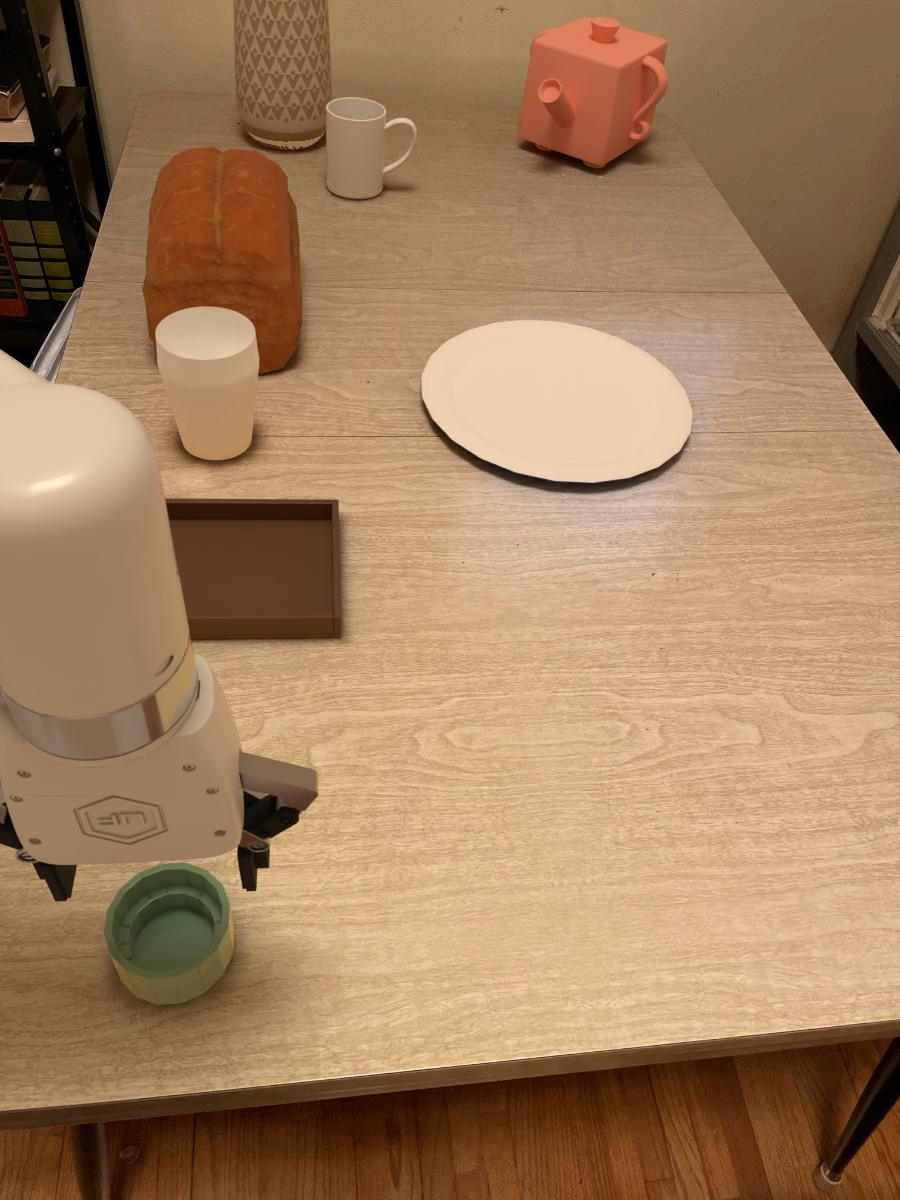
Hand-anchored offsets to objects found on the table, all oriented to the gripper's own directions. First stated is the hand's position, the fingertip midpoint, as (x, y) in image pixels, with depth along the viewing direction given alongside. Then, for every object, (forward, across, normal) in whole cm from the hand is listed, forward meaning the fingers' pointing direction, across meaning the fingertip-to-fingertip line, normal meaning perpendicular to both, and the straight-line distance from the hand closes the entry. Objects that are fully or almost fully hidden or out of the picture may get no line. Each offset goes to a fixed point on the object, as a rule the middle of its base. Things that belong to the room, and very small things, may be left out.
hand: (161, 871), depth 52 cm
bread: (+10, -2, +76) cm, 76 cm away
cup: (+10, -2, +51) cm, 52 cm away
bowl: (+11, -1, 0) cm, 11 cm away
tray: (+10, +1, +33) cm, 34 cm away
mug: (+10, +16, +108) cm, 110 cm away
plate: (+11, +33, +58) cm, 68 cm away
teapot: (+11, +48, +124) cm, 133 cm away
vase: (+10, +4, +124) cm, 125 cm away
